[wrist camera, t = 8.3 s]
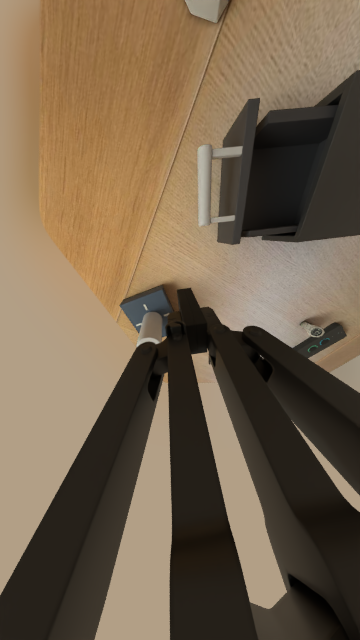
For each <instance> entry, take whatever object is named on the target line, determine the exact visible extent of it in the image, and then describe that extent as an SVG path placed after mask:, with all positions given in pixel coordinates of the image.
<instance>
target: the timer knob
mask: <svg viewBox="0 0 360 640" xmlns="http://www.w3.org/2000/svg"><path fill="white" fill-rule="evenodd" d="M149 341H150V342H154V343H155V344H158V343H161V342H162V317H161V315H160V314H158V313H157V312H148V313H146V314H145V315H144V317H143V321H142V325H141V329H140V333H139V337H138V341H137V345H136V347H138V346H139V345H140V344H142V343H144V342H149Z"/></svg>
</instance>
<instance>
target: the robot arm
mask: <svg viewBox="0 0 360 640" xmlns="http://www.w3.org/2000/svg"><path fill="white" fill-rule="evenodd" d="M177 296H178V304H179V312H172V313H169V315H168V316H167V318H168V324H167V325H166V326H165V331H166V336H167V338H166V339H165V340H164V341H163V342H161V343H158V344H155V343H154V342H150V341H149V342H144V343H142V344H140V345H139V346H138V347H137V348H136V350H135V352H134V353H133V355H132V357H131V359H130V361H129V362H128V364H127V366H126V368H125V370H124V372H123V373H122V375H121V377H120V379H119V381H118V382H117V384H116V386H115V388H114V390H113V392H112V394H111V395H110V397H109V399H108V401H107V402H106V404H105V406H104V408H103V410H102V412H101V413H100V415H99V417H98V419H97V421H96V423H95V424H94V426H93V428H92V430H91V432H90V433H89V435H88V437H87V439H86V441H85V443H84V444H83V446H82V448H81V450H80V452H79V453H78V455H77V457H76V459H75V461H74V463H73V464H72V466H71V468H70V470H69V472H68V474H67V475H66V477H65V479H64V481H63V483H62V484H61V486H60V488H59V490H58V492H57V494H56V495H55V497H54V499H53V501H52V503H51V504H50V506H49V508H48V510H47V512H46V513H45V515H44V517H43V519H42V521H41V522H40V524H39V526H38V528H37V530H36V532H35V533H34V535H33V537H32V539H31V541H30V542H29V544H28V546H27V548H26V550H25V552H24V553H23V555H22V557H21V559H20V561H19V562H18V564H17V566H16V568H15V570H14V572H13V574H12V576H11V577H10V579H9V581H8V582H7V584H6V586H5V588H4V590H3V592H2V593H1V595H0V640H94V639H95V635H96V632H97V628H98V625H99V621H100V617H101V614H102V611H103V607H104V604H105V600H106V596H107V592H108V589H109V585H110V581H111V577H112V573H113V569H114V565H115V562H116V558H117V554H118V550H119V546H120V542H121V539H122V535H123V531H124V527H125V523H126V519H127V516H128V512H129V508H130V504H131V500H132V496H133V492H134V489H135V485H136V481H137V477H138V473H139V469H140V465H141V462H142V458H143V454H144V450H145V446H146V442H147V439H148V434H149V431H150V427H151V423H152V419H153V415H154V412H155V408H156V404H157V400H158V396H159V392H160V388H161V385H162V381H163V377H164V374H165V373H167V372H168V389H169V390H168V391H169V428H170V462H171V463H170V464H171V500H172V545H171V558H170V640H360V512H359V511H357V510H356V509H355V508H354V507H352V506H351V505H350V503H349V502H348V501H347V500H346V499H345V498H344V497H343V496H342V494H341V493H340V491H339V490H338V489H337V487H336V486H335V484H334V483H333V481H332V480H331V479H330V477H329V475H328V474H327V473H326V471H325V470H324V468H323V467H322V465H321V464H320V462H319V461H318V460H317V458H316V456H315V455H314V453H313V452H312V450H311V449H310V447H309V446H308V444H307V443H306V441H305V440H304V439H303V437H302V436H301V434H300V433H299V431H298V430H297V428H296V427H295V425H296V426H297V427H298V428H299V429H300V430H301V431H302V432H303V433H304V435H305V436H306V437H307V438H308V439H309V440H310V441H311V442H312V443H313V444H314V445H315V447H316V448H317V449H318V450H319V451H320V452H321V453H322V454H323V456H324V457H325V458H326V459H327V460H328V461H329V462H330V463H331V464H332V465H333V466H334V468H335V469H336V470H337V471H338V472H339V473H340V474H341V475H342V476H343V477H344V479H345V480H346V481H347V482H348V483H349V484H350V485H351V486H352V487H353V489H354V490H355V491H356V492H357V493H358V494H359V495H360V393H358V392H357V391H356V390H354V389H352V388H351V387H350V386H348V385H347V384H345V383H344V382H342V381H340V380H339V379H338V378H336V377H335V376H333V375H332V374H330V373H329V372H327V371H326V370H324V369H322V368H321V367H319V366H318V365H316V364H315V363H313V362H312V361H310V360H309V359H307V358H306V357H304V356H303V355H301V354H300V353H298V352H297V351H295V350H294V349H292V348H291V347H289V346H288V345H286V344H285V343H283V342H282V341H280V340H279V339H277V338H276V337H274V336H273V335H271V334H270V333H268V332H267V331H265V330H264V329H262V328H260V327H257V326H247V327H245V328H244V329H243V332H241V331H231V330H230V329H229V328H228V327H227V326H225V325H222V324H221V322H220V320H219V319H218V317H217V316H216V314H215V313H214V311H213V309H211V308H210V307H203V308H200V306H199V304H198V302H197V300H196V298H195V296H194V294H193V292H192V290H191V288H186V289H179V290H177ZM207 348H208V351H209V364H210V362H211V365H212V367H213V370H214V373H215V376H216V379H217V382H218V384H219V387H220V390H221V393H222V396H223V398H224V401H225V404H226V407H227V410H228V413H229V415H230V418H231V421H232V424H233V427H234V430H235V432H236V435H237V438H238V441H239V443H240V446H241V449H242V452H243V455H244V458H245V461H246V463H247V466H248V469H249V472H250V475H251V478H252V480H253V483H254V486H255V489H256V492H257V494H258V497H259V500H260V503H261V506H262V509H263V513H264V517H265V525H266V529H267V533H268V536H269V539H270V543H271V545H272V549H273V552H274V554H275V557H276V560H277V563H278V566H279V569H280V572H281V575H282V578H283V581H284V584H285V587H286V590H287V593H286V594H285V595H284V596H283V597H282V598H281V599H280V600H279V601H278V602H277V603H276V604H275V605H274V606H273V607H272V608H271V609H266V608H263V607H261V606H258V605H255V604H253V603H250V602H249V597H248V593H247V590H246V585H245V581H244V576H243V572H242V568H241V564H240V560H239V557H238V553H237V549H236V546H235V542H234V538H233V535H232V532H231V529H230V524H229V521H228V516H227V512H226V508H225V504H224V499H223V494H222V490H221V486H220V481H219V477H218V472H217V468H216V463H215V459H214V454H213V450H212V445H211V441H210V437H209V432H208V427H207V423H206V418H205V414H204V410H203V405H202V401H201V396H200V392H199V387H198V383H197V378H196V374H195V369H194V365H193V360H192V356H191V354H197V353H204V352H207ZM260 355H261V356H262V357H263V358H262V357H261V356H260ZM291 420H292V421H293V422H294V424H295V425H294V424H293V422H292V421H291Z"/></svg>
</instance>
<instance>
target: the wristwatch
mask: <svg viewBox="0 0 360 640" xmlns="http://www.w3.org/2000/svg"><path fill="white" fill-rule="evenodd" d="M300 325H301V326H302V327H303V328H304V329H305V330H306V331H307V332H308V334H309V336H311V337H320V336H322V335H323V334H324V333H325V332H324V330H323V328H321V327H319V326H314V325H312V324H310V323H308V322H305V321H304V322H302V323H301V324H300Z"/></svg>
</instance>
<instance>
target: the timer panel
mask: <svg viewBox="0 0 360 640" xmlns="http://www.w3.org/2000/svg"><path fill="white" fill-rule="evenodd" d="M120 307H121V308H122V310H123V311H124V313H125V314H126V316H127V317H128V318H129V320H130V321H131V323H132V324H133V326H134V327H135V328H136V330H137V331H138V333H140V329H141V325H142V321H143V317H144V315H145V314H146V313H148V312H157V313H158V314H160V315H161V317H162V337H165V336H166V331H165V326H166V325H167V324H168V318H167V316H168V315H169V313H172V312H174V310H173V308H172V306H171V303H170V301H169V299H168V297H167V294H166V292H165V290H164V287H163V285H161V286H158V287H155V288H153V289H150V290H148V291H145V292H142V293H140V294H137V295H135V296H132V297H129V298H127V299H124V300H123V301H122V302H121V304H120Z"/></svg>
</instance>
